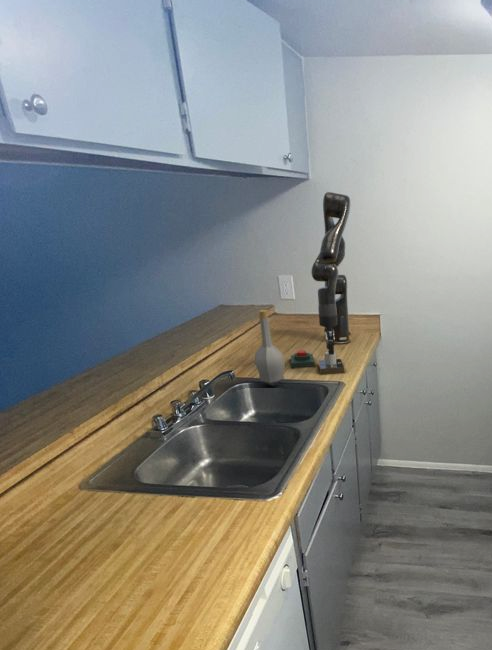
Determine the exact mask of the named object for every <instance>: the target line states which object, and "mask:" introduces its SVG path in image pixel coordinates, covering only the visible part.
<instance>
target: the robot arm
mask: <svg viewBox="0 0 492 650" xmlns="http://www.w3.org/2000/svg"><path fill="white" fill-rule="evenodd" d="M322 211H323V220H324V221H323V223H324V236H323V238H322V240H321V245H320V250H319V252H318V253H319V254H318V255H317V257H316V258H315V260H314V262H313V265H312V267H311V277H312V279H313V280H314V281H315V282H321V283H322V282H324V286H322V287H320V288H318V289H317V298H318V299H317V300H318V306H317V307H318V308H317V309H318V321H319V326H320V327H324V328H323V333H324V338H325V341H326V342H325V343H326V349H327V351H329V355H333V354H334V351H335V347H334V346H335V345H343V344H348V343H350V335H351V331H350V328H349V325H350V324H349V305H348V279H347V276H346V275H345V274H339V269H338V267H339V266H340V265H341V264H342V262H343V261H344V259H345V258H346V257H345V256H346V241H345V238H344V237H343V235H344V232H345V229H346V226H347V223H348V220H349V217H350V212H351V198H350V196H349V195H346V194H342V193H337V192H331V191H327V192H325V193H324V194H323V199H322ZM334 219H338V220H337V222H336V223H335V221H334ZM336 295H339V297H337V298H336Z"/></svg>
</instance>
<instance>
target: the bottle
mask: <svg viewBox="0 0 492 650" xmlns="http://www.w3.org/2000/svg"><path fill="white" fill-rule="evenodd" d="M258 313H259V316H258V318H259V323H260V329H261V341H262V342H261V343H262V344H261V346H259V348H258V349H257V350H256V351H255V353H254V361H253V362H254V364H255V367H256V368H257V371H258V376H259V380H260V381H262V382H263V383H264V384H267V385H268V386H271V387H274V386H277V385H279V384H280V383H281V382H282V381H283V380H284V379H285V374H284V369H285V364H286V360H285V357H284V354H283V352H282V351H281V350H279V349H278V348H277V347H276V346H275V345H274V344H273V340H272V337H271V336H272V335H271V329H270V316H269V315H268V310H267V309H259V310H258Z"/></svg>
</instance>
